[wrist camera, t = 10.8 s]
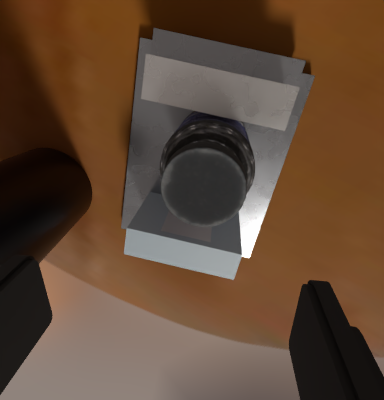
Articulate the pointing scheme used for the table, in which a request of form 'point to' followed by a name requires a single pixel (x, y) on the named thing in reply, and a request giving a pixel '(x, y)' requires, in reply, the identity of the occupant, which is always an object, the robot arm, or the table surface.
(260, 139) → the vise base
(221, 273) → the sliding jaw
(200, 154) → the pill bottle
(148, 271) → the table surface
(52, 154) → the water bottle
